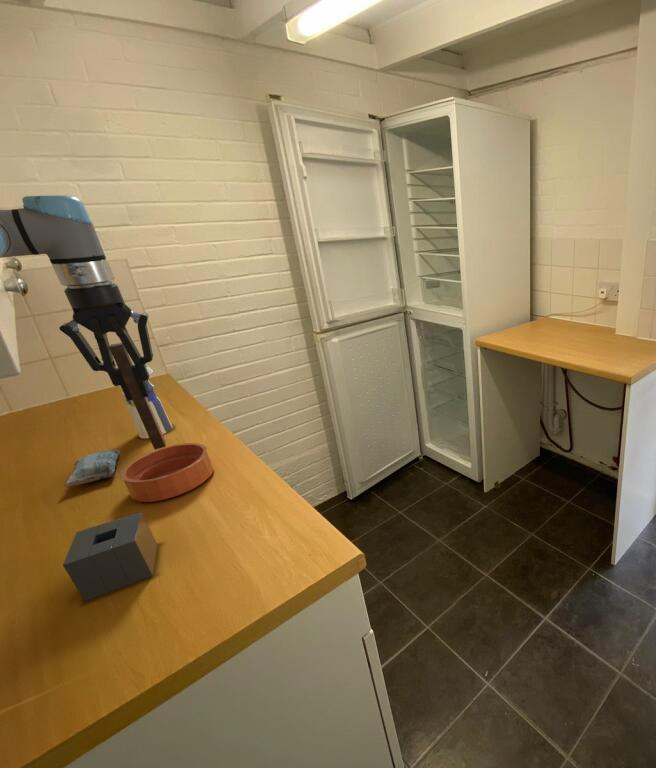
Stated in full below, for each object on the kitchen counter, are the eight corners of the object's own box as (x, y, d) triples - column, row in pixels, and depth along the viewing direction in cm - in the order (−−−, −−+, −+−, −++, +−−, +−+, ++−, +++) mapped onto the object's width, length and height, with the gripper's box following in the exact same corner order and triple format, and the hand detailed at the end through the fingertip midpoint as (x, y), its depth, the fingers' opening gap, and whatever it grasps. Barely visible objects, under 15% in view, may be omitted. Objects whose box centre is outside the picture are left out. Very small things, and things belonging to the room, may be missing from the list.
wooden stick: (154, 449, 92) (108, 347, 83) (155, 445, 94) (110, 344, 84) (165, 446, 93) (121, 344, 84) (166, 443, 95) (123, 342, 85)
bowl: (127, 514, 87) (115, 491, 85) (136, 478, 99) (126, 457, 97) (215, 487, 95) (206, 465, 93) (214, 456, 107) (206, 436, 105)
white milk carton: (163, 437, 117) (128, 353, 107) (130, 440, 116) (91, 356, 106) (181, 423, 125) (149, 343, 115) (149, 426, 124) (115, 345, 114)
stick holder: (85, 601, 68) (62, 565, 65) (96, 566, 75) (76, 532, 72) (153, 575, 72) (134, 540, 69) (157, 544, 79) (141, 511, 76)
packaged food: (68, 494, 94) (59, 476, 92) (79, 470, 103) (70, 453, 101) (119, 480, 99) (110, 463, 97) (125, 458, 108) (117, 442, 106)
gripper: (27, 293, 72) (87, 413, 82) (138, 282, 80) (181, 393, 89) (40, 287, 78) (95, 399, 88) (142, 277, 86) (183, 382, 95)
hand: (138, 396), depth 88 cm, fingers closed on wooden stick, 2 cm apart
